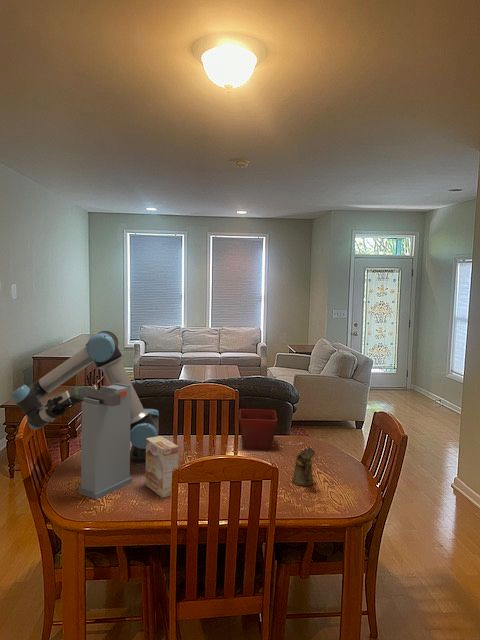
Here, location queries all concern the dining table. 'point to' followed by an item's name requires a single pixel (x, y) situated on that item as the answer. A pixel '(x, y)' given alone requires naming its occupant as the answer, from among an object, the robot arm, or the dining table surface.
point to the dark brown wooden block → (95, 395)
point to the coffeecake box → (160, 464)
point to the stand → (105, 444)
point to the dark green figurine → (303, 468)
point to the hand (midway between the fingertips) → (82, 390)
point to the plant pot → (257, 428)
